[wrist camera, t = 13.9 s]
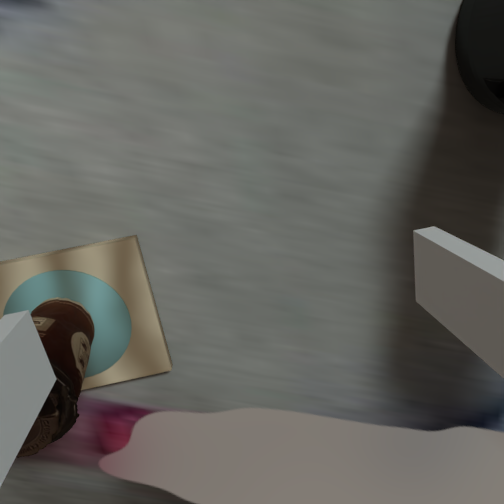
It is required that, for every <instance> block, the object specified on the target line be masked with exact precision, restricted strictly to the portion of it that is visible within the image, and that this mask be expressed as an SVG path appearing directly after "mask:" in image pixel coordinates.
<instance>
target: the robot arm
mask: <svg viewBox="0 0 504 504" xmlns="http://www.w3.org/2000/svg"><path fill="white" fill-rule="evenodd" d="M456 56H457V62H458V67H459V70H460V73H461V76H462V78H463V81H464V83H465V85H466V86H467V88H468V90H469V91H470V92H471V94H472V95H473V96H474V97H475V98H476V99H477V100H478V101H479V102H480V103H481V104H483V105H484V106H485V107H487V108H489V109H491V110H493V111H495V112H498V113H501V114H504V0H464V2H463V5H462V7H461V11H460V14H459V19H458V23H457V30H456ZM413 240H414V268H415V295H416V302H417V303H418V304H419V305H421V306H422V307H423V308H424V309H425V310H426V311H427V312H429V313H430V314H431V315H432V316H433V317H434V318H435V319H437V320H438V321H439V322H440V323H441V324H442V325H443V326H445V327H446V328H447V329H448V330H449V331H450V332H451V333H453V334H454V335H455V336H456V337H457V338H458V339H459V340H461V341H462V342H463V343H464V344H465V345H466V346H467V347H468V348H470V349H471V350H472V351H473V352H474V353H475V354H476V355H478V356H479V357H480V358H481V359H482V360H483V361H484V362H486V363H487V364H488V365H489V366H490V367H491V368H492V369H494V370H495V371H496V372H497V373H498V374H499V375H500V376H502V377H503V378H504V260H502V259H500V258H498V257H496V256H494V255H492V254H490V253H488V252H486V251H484V250H482V249H480V248H478V247H476V246H473V245H471V244H469V243H467V242H465V241H463V240H461V239H459V238H457V237H455V236H453V235H451V234H449V233H447V232H445V231H443V230H441V229H439V228H437V227H435V226H433V227H428V228H423V229H418V230H414V231H413ZM55 381H56V377H55V374H54V372H53V369H52V367H51V364H50V362H49V359H48V357H47V354H46V352H45V349H44V347H43V345H42V342H41V340H40V337H39V335H38V332H37V330H36V327H35V325H34V322H33V320H32V317H31V315H30V312H29V310H26V311H21V312H17V313H12V314H7V315H4V316H3V317H2V318H1V319H0V487H1V485H2V483H3V481H4V479H5V477H6V475H7V473H8V471H9V469H10V467H11V466H12V464H13V462H14V460H15V458H16V456H17V454H18V452H19V450H20V448H21V446H22V445H23V443H24V441H25V439H26V437H27V435H28V433H29V431H30V429H31V427H32V425H33V423H34V422H35V420H36V418H37V416H38V414H39V412H40V410H41V408H42V406H43V404H44V402H45V400H46V399H47V397H48V395H49V393H50V391H51V389H52V387H53V385H54V383H55Z"/></svg>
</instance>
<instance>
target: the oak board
mask: <svg viewBox="0 0 504 504" xmlns="http://www.w3.org/2000/svg"><path fill="white" fill-rule="evenodd" d="M56 297H60V298H68V299H70V300H72V301H76V302H80V303H81V304H82V305H83V306H84V307H85V309H86V310H87V311H88V312H89V313H90V314H91V317H92V320H93V323H94V328H95V332H94V339H93V342H92V345H91V351H90V357H89V362H88V366H87V369H86V372H85V377H84V381H83V384H82V389H81V390H84V389H89V388H93V387H98V386H103V385H107V384H112V383H116V382H121V381H125V380H130V379H135V378H139V377H144V376H148V375H153V374H157V373H162V372H167V371H171V370H172V361H171V357H170V354H169V350H168V346H167V343H166V339H165V336H164V332H163V328H162V325H161V321H160V318H159V314H158V310H157V307H156V303H155V300H154V296H153V292H152V289H151V285H150V282H149V278H148V274H147V271H146V267H145V264H144V260H143V256H142V253H141V249H140V246H139V242H138V238H137V235H134V236H129V237H123V238H118V239H113V240H108V241H103V242H98V243H93V244H88V245H83V246H78V247H72V248H67V249H62V250H57V251H52V252H47V253H42V254H37V255H32V256H27V257H21V258H16V259H11V260H6V261H1V262H0V319H1V318H2V317H3V316H4V315H7V314H12V313H17V312H21V311H26V310H29V312H30V314H31V312H32V311H33V310H34V309H35V308H36V307H37V306H38V305H39V304H41V303H42V302H43V301H45V300H47V299H50V298H56Z"/></svg>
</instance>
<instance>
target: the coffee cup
mask: <svg viewBox="0 0 504 504" xmlns="http://www.w3.org/2000/svg"><path fill="white" fill-rule="evenodd" d="M30 315H31V317H32V320H33V322H34V325H35V327H36V330H37V332H38V335H39V337H40V340H41V342H42V345H43V347H44V349H45V352H46V354H47V357H48V359H49V362H50V364H51V367H52V369H53V372H54V374H55V377H56V381H55V383H54V385H53V387H52V389H51V391H50V393H49V395H48V397H47V399H46V400H45V402H44V404H43V406H42V408H41V410H40V412H39V414H38V416H37V418H36V420H35V422H34V423H33V425H32V427H31V429H30V431H29V433H28V435H27V437H26V439H25V441H24V443H23V445H22V446H21V448H20V450H19V452H18V454H17V456H16V457H18V458H19V457H22V456H30V455H33V454H36V453H38V451H39V449H43V448H44V447H46V445H47V444H50V443H52V442H54V441H56V440H58V439H60V438H61V437H62V436H63V435H64V434H65V433H67V432H68V431H69V430H70V429H71V428H72V427H73V425H74V424H75V422H76V419H77V418H78V417H79V414H78V413H77V404H76V403H77V401H78V397H79V395H80V392H81V389H82V384H83V381H84V377H85V372H86V369H87V366H88V362H89V357H90V351H91V345H92V342H93V339H94V332H95V328H94V323H93V320H92V317H91V314H90V313H89V312H88V311H87V310H86V309H85V307H84V306H83V305H82V304H81V303H80V302H76V301H72V300H70V299H68V298H60V297H56V298H50V299H47V300H45V301H43V302H42V303H41V304H39V305H38V306H37V307H36V308H35V309H34V310H33V311H32V312H31V314H30Z"/></svg>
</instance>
